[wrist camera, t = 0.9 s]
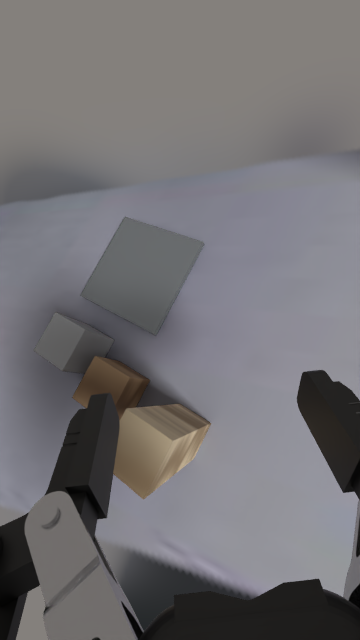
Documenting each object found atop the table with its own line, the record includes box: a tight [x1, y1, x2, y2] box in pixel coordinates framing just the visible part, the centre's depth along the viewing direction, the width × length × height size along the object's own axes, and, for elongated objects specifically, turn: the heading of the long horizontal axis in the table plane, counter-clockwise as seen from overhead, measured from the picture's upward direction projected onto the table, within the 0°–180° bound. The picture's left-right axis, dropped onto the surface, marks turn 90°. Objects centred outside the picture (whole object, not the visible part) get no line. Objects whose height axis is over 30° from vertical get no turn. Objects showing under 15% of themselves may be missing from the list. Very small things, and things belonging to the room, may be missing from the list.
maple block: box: [113, 404, 211, 499], centre depth 23 cm, size 4×4×12 cm
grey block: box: [34, 312, 114, 374], centre depth 33 cm, size 5×5×6 cm
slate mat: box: [81, 217, 204, 335], centre depth 36 cm, size 13×13×1 cm
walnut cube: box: [72, 356, 150, 421], centre depth 30 cm, size 5×5×5 cm
